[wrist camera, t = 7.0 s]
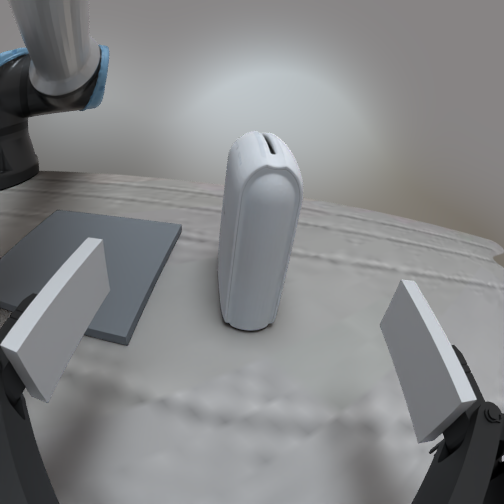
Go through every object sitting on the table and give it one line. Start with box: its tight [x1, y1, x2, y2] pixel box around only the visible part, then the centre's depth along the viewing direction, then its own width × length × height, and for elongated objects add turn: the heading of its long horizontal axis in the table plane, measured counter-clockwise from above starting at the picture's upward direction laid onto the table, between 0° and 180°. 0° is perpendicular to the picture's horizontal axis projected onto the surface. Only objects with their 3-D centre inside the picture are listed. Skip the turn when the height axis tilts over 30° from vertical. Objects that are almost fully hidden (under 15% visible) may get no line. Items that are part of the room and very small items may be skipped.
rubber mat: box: [0, 210, 182, 345], centre depth 24 cm, size 16×16×1 cm
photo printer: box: [218, 131, 303, 330], centre depth 22 cm, size 10×4×12 cm, turn 6°
